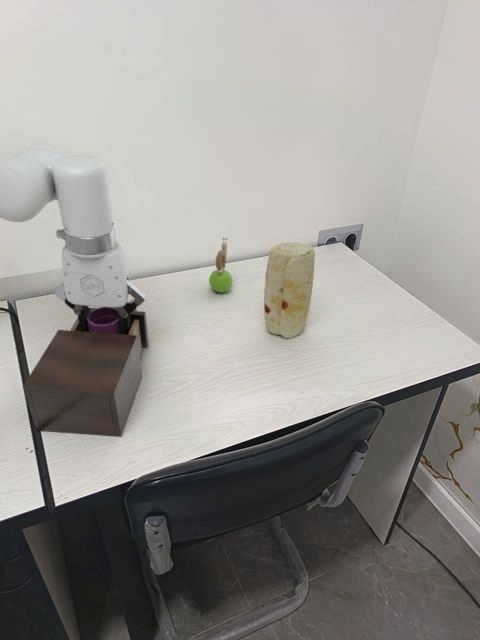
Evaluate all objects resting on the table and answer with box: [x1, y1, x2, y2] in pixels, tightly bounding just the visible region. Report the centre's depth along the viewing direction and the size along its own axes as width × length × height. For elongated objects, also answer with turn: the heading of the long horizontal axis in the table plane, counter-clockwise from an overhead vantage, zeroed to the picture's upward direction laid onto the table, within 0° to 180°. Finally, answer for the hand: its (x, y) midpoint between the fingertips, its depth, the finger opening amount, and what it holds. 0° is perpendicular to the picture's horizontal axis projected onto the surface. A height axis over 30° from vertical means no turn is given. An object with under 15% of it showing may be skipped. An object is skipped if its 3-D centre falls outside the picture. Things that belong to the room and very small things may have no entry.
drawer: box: [69, 307, 150, 357], centre depth 92 cm, size 19×12×8 cm, turn 178°
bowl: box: [86, 307, 120, 334], centre depth 89 cm, size 6×6×4 cm
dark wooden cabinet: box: [22, 329, 143, 438], centre depth 82 cm, size 15×14×10 cm
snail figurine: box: [208, 236, 234, 294], centre depth 113 cm, size 5×6×12 cm
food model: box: [263, 241, 316, 339], centre depth 99 cm, size 10×7×20 cm
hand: (106, 329), depth 90 cm, fingers closed on bowl, 6 cm apart
